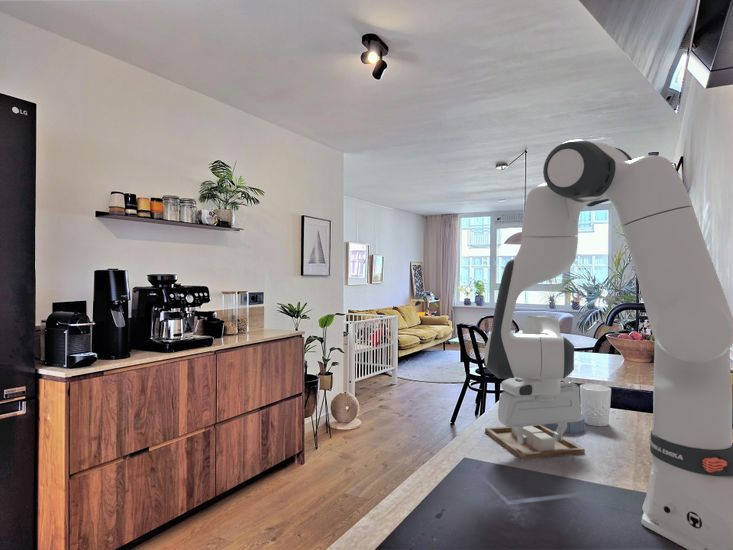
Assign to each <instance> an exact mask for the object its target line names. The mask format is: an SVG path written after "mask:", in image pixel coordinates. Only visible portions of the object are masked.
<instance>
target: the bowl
mask: <svg viewBox="0 0 733 550" xmlns="http://www.w3.org/2000/svg"><path fill="white" fill-rule="evenodd" d="M542 425H543V426H545V427H547V428H548V429H550V430H552V431H554V432H556V429H557V427H558V424H557V423H554V424H542ZM583 431H585V423H584V416H583V415H582V413H581V418H580V420H579V421H578V422H567V428H566V430H565V431H564V433H563V434H577V433H578V434H579V433H582V432H583Z"/></svg>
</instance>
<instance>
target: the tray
mask: <svg viewBox="0 0 733 550" xmlns="http://www.w3.org/2000/svg"><path fill="white" fill-rule="evenodd" d="M531 426H533V427H535V428H537V429H540V430H542V431H543V433H546V434H548V435H549V436H551V437H553V432H555V431H552V430H550V429H548V428H547V427H545V426H543V425H531ZM484 433H485V434H487V435H488V436H489V437H491V438H492V439H494V440H495V441H496V442H497V443H499V444H500V445H502V446H503V447H504V448H505V449H507V450H509V452H510V453H512V454H513V455H514V456H515V457H517V458H519V459H520V460H521V461H522V460H531V459H543V458H552V457H553V458H554V457H562V456H563V457H564V456H565V457H566V456H572V455H573V456H574V455H583V454H585V452H586V450H585V449H586V448H584V447H582V446H581V445H579V444H577V443H575V442H573V441H572V440H570V439H568V438H566V437H564V436H563V440H562V441H555V450H549V451H538V450H536V449H535V448H533V446H531V445H530V444H528V443H527V444H522V445H520V444H519V443H518V442H517V436H515V435H514V434H513V433H512V427H507V426H498V427H485V428H484Z"/></svg>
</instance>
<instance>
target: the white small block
mask: <svg viewBox="0 0 733 550" xmlns="http://www.w3.org/2000/svg"><path fill="white" fill-rule="evenodd" d="M533 448H535V449H536V450H538V451H549V450H555V439H554V438H553V437H551V436H549V435H548V434H546V433H536V434H533Z"/></svg>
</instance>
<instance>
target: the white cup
mask: <svg viewBox="0 0 733 550" xmlns="http://www.w3.org/2000/svg"><path fill="white" fill-rule="evenodd" d="M611 396H612V387H610V386H607V385H603V384H596V383H595V384H594V383H584V384H580V385H579V398H580V403H581V414H582V415H583V416H584V424H586V425H588V426H589V425H590V426H593V427H607V426H609V424H610V412H611V398H612V397H611Z"/></svg>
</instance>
